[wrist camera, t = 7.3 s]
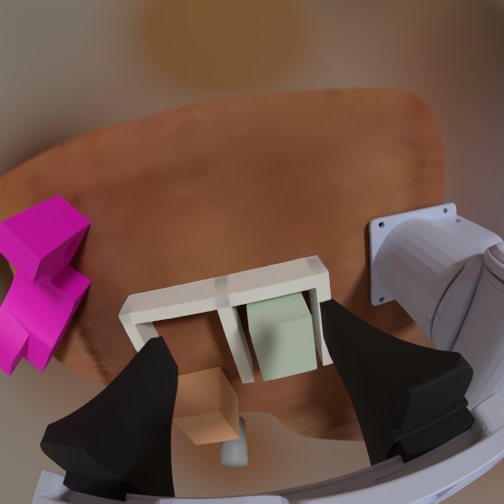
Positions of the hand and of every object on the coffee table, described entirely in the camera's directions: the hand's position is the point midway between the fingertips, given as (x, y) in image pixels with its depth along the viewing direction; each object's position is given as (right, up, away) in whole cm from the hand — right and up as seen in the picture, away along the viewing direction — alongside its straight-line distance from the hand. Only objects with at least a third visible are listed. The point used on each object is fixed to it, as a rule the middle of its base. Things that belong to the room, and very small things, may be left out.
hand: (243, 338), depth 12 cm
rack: (-1, -2, +11) cm, 12 cm away
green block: (+2, -1, +11) cm, 12 cm away
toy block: (-17, +1, +9) cm, 20 cm away
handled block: (-3, -12, +15) cm, 20 cm away
